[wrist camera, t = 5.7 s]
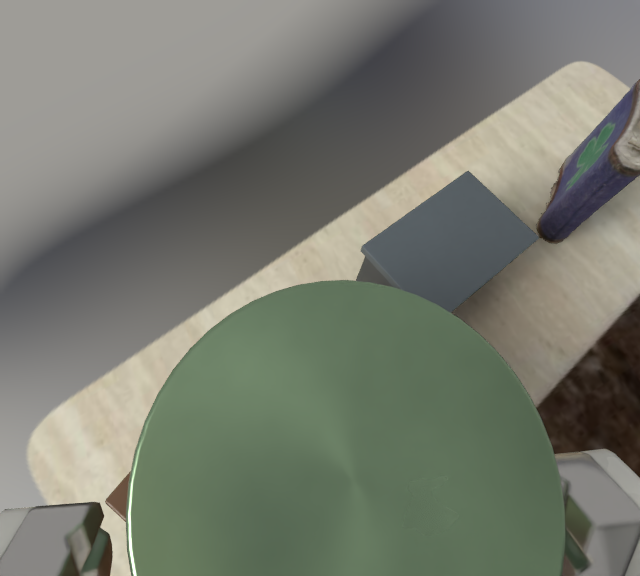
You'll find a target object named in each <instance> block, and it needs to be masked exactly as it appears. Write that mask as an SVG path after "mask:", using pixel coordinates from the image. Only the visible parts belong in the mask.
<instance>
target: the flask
mask: <svg viewBox="0 0 640 576" xmlns="http://www.w3.org/2000/svg"><path fill="white" fill-rule="evenodd" d="M559 172H560V175H559V177H558V179H557V180H558V181H556V183H554V185H553V187H552V188H551V192H550V195H551V201H550V202H549V203H546V208H547V209H546V211H545V212H544V213H543V214H542V213H541V214H542V215H541V217H540V218H539V221H538V223H537V224H536V227H537V231H538V233H539V238H543V239H544V240H545V241H547V242H549V243H555V244H557V243H559V242H562V241H563V240H564V239H565V238H567V237H568V236H569V234H570V233H571V232H572V231H574V230H575V229H576V228H577V227H578V226H579V225H580V224H581V223H582V222H584V221H585V220H586V219H588V218H589V217H590V216H591V215H592V214H593V213H594V212H596V211H597V210H598V209H599V208H600V207H601V206H603V205H604V204H605V203H606V202H608V201H609V200H610V199H611V198H612V197H613V196H615V195H616V194H617V193H618V192H620V191H621V190H622V189H623V188H624V187H625V186H627V185H628V184H629V183H630V182H632V181H633V180H634V179H635V178H636V177H638V176H639V175H640V79H639V80H638V81H637V82H636V83H635V85H634V86H633V87H632V88H631V89H630V91H629V92H628V93H627V94H626V95H625V96H624V97H623V99H622V100H621V101H620V102H619V103H618V104H617V105H616V106H615V107H614V108H613V109H612V110H611V112H610V113H609V114H608V115H607V116H606V117H605V118H604V119H603V121H602V122H601V123H600V124H599V125H598V126H597V127H596V128H595V129H594V130H593V131H592V132H591V134H590V135H589V136H588V137H587V138H586V139H585V140H584V141H583V142H582V143H581V144H580V145H579V146H578V147H577V148H576V149H575V150H574V152H573V153H572V154H571V155H569V156H568V157H567V158H566V160H565V162H564V164H563V165H562V167H561V168H560V169H559Z"/></svg>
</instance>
